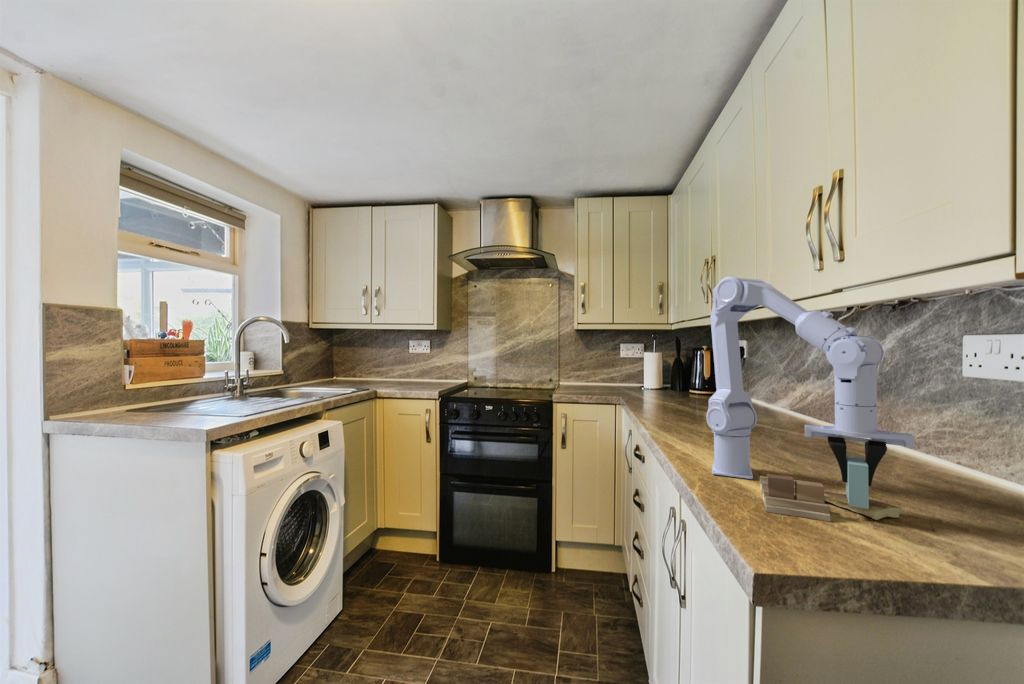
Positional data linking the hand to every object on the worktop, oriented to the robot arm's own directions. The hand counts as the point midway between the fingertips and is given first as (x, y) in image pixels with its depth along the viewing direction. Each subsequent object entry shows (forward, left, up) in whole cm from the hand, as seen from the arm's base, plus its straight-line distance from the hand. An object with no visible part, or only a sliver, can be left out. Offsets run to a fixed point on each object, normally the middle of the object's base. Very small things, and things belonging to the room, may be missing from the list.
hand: (856, 482), depth 72 cm
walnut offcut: (+4, -12, -4) cm, 13 cm away
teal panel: (+1, 0, -3) cm, 3 cm away
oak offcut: (+4, -7, -4) cm, 10 cm away
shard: (0, 0, -5) cm, 5 cm away
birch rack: (0, -10, -5) cm, 11 cm away
